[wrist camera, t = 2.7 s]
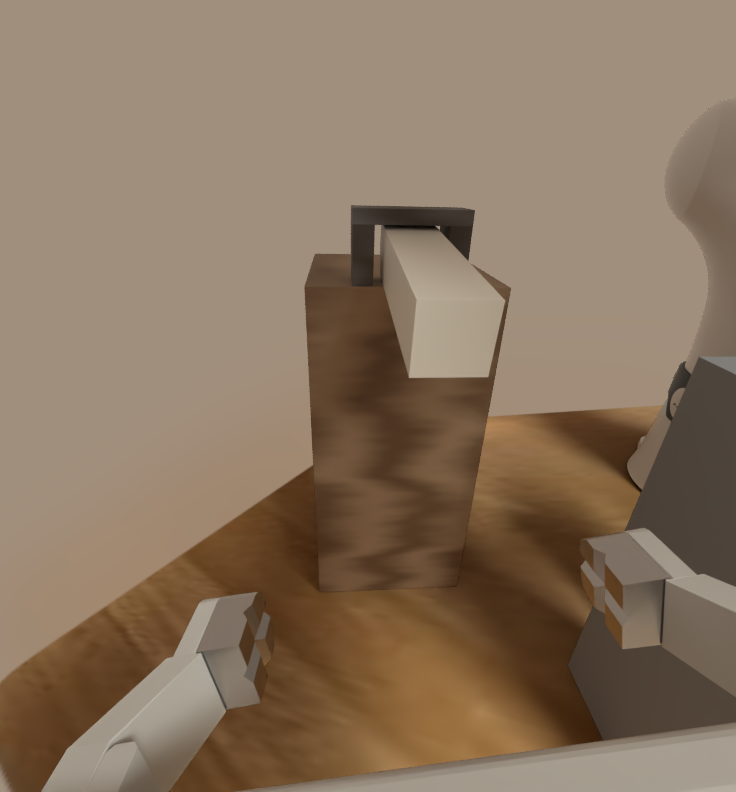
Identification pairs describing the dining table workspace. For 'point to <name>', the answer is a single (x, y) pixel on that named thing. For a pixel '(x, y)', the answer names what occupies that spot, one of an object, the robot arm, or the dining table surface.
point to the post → (691, 542)
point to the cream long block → (438, 304)
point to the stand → (388, 423)
